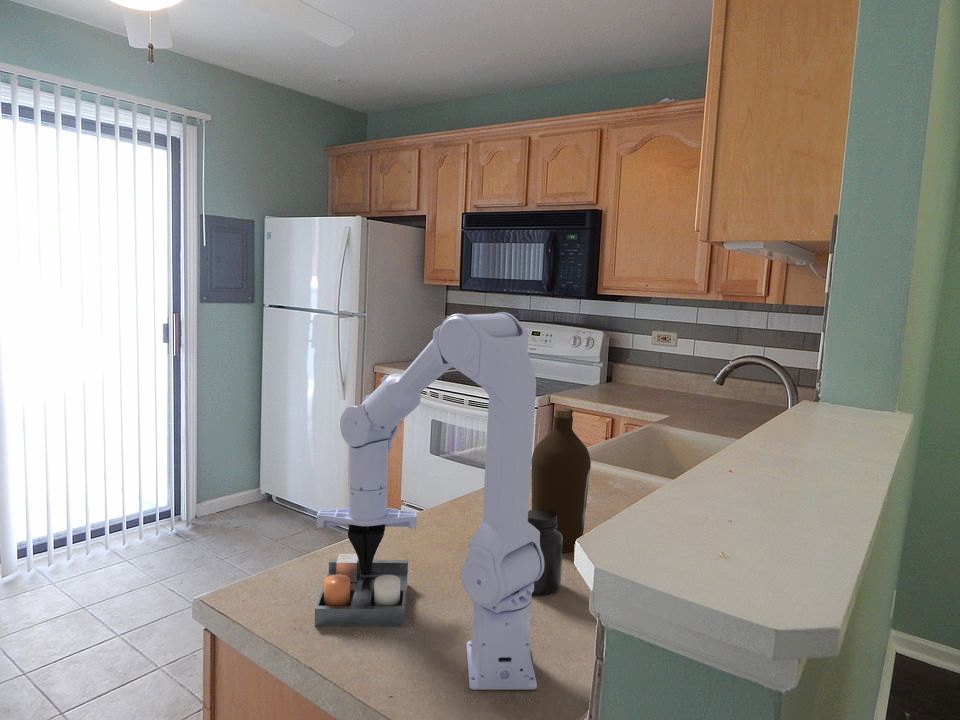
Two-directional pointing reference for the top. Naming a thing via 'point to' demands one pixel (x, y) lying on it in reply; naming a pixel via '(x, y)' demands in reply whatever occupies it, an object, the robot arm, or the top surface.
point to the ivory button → (387, 590)
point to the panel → (365, 599)
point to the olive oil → (562, 477)
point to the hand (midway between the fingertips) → (366, 572)
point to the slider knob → (348, 566)
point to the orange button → (336, 590)
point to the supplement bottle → (548, 551)
